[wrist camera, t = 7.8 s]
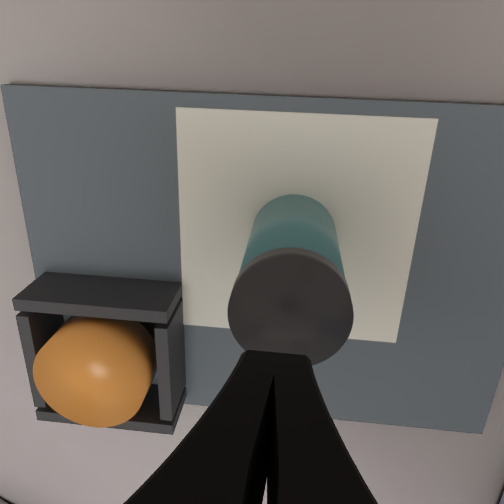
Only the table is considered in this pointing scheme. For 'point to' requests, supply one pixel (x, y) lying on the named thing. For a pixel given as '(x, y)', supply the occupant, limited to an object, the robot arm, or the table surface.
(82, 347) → the button
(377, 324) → the slate board
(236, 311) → the teal bottle
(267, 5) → the table surface
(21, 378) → the table surface
